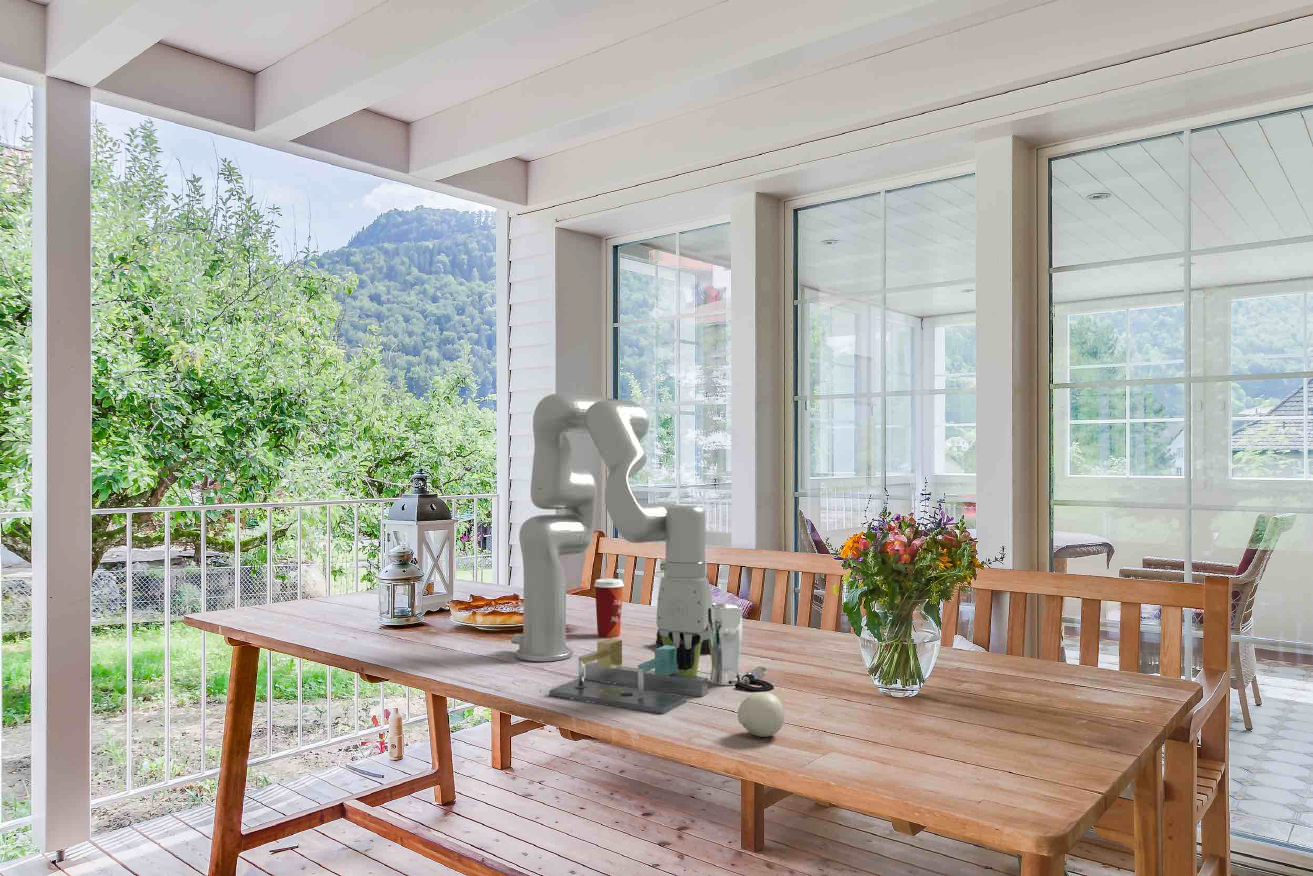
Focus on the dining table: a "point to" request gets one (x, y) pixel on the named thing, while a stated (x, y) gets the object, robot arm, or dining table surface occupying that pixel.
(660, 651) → the sliding leg
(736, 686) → the black c clamp
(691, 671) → the plant pot
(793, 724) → the dining table surface
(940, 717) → the dining table surface
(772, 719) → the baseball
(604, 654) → the fixed leg
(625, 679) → the rail
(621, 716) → the dining table surface
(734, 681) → the beer glass
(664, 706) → the hole plate
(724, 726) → the dining table surface
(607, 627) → the paper cup
